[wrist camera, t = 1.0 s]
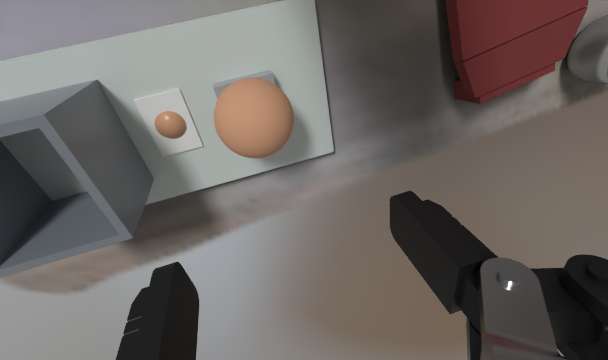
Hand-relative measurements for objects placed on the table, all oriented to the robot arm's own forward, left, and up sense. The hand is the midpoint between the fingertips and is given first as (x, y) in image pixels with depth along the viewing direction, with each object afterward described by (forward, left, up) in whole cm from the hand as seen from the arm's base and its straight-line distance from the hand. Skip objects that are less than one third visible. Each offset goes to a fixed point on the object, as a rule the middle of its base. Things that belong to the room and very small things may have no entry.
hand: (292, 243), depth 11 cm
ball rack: (+5, -5, -19) cm, 20 cm away
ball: (0, 0, -14) cm, 14 cm away
